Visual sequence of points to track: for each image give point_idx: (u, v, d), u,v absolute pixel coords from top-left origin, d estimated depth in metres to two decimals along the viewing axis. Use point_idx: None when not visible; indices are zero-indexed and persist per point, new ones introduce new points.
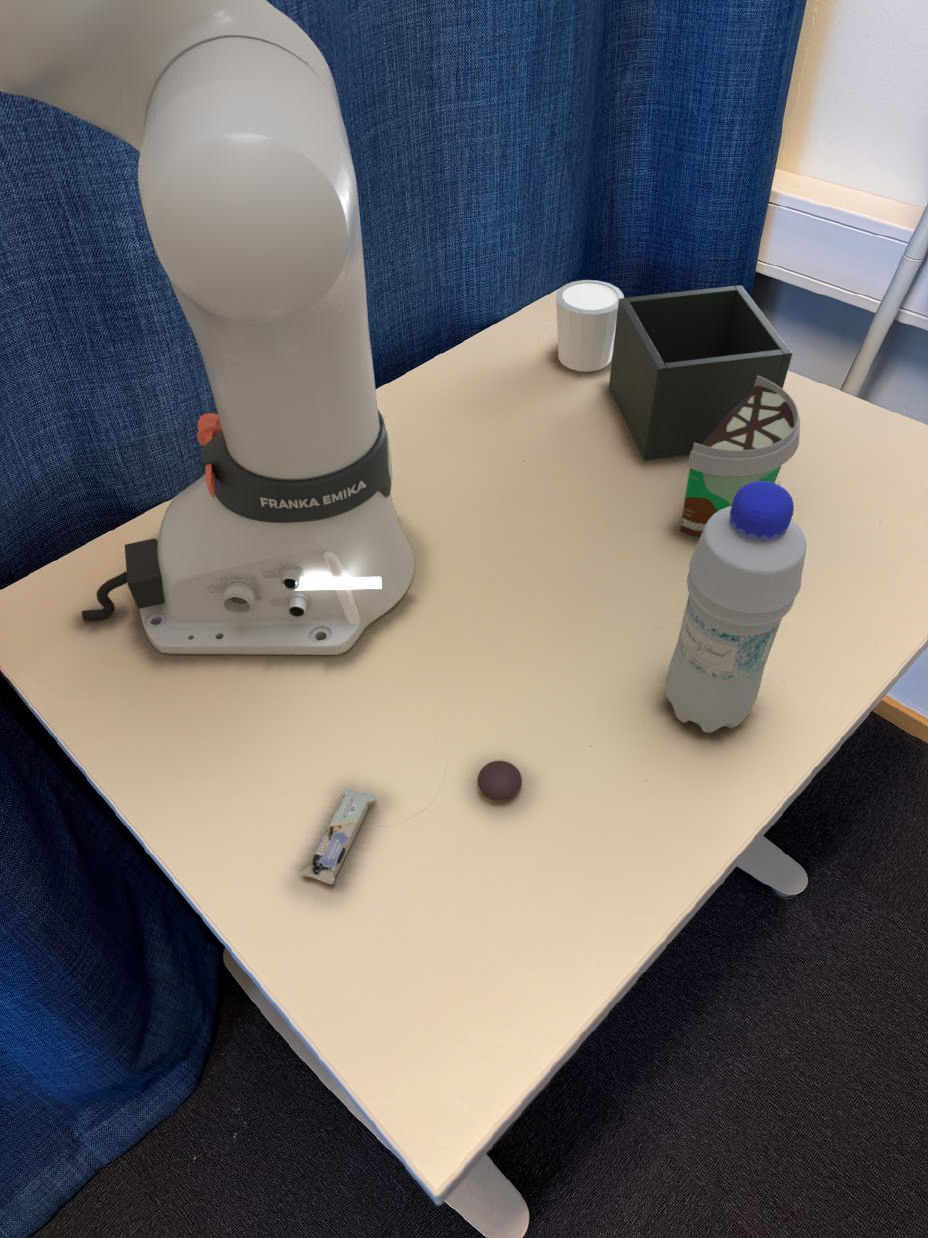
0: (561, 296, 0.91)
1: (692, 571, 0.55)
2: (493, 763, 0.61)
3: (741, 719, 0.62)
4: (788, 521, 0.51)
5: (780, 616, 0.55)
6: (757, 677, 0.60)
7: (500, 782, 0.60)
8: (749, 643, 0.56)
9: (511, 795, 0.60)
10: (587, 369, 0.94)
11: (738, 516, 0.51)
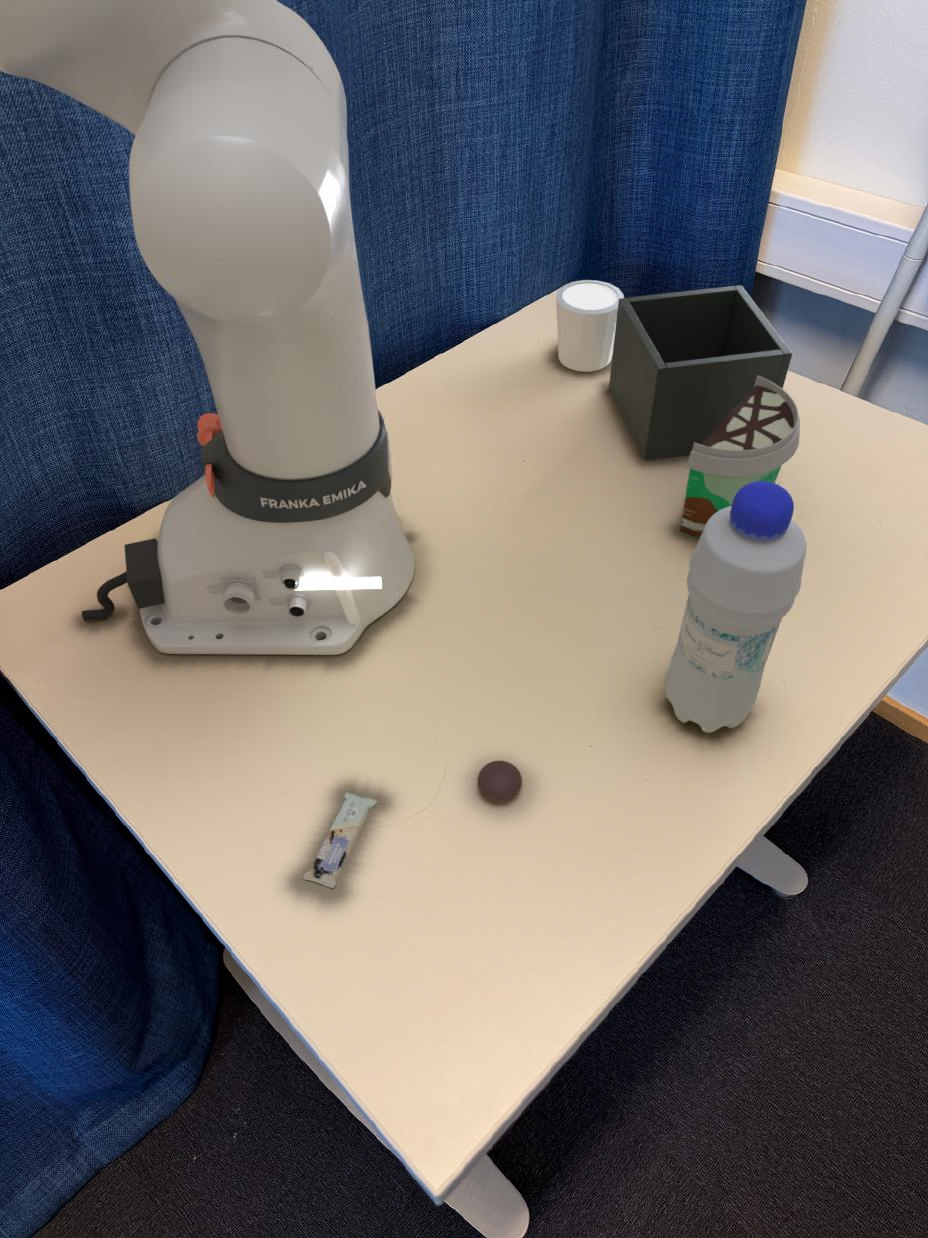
0: (561, 296, 0.91)
1: (692, 571, 0.55)
2: (493, 763, 0.61)
3: (741, 719, 0.62)
4: (788, 521, 0.51)
5: (780, 616, 0.55)
6: (757, 677, 0.60)
7: (500, 782, 0.60)
8: (749, 643, 0.56)
9: (511, 795, 0.60)
10: (587, 369, 0.94)
11: (738, 516, 0.51)
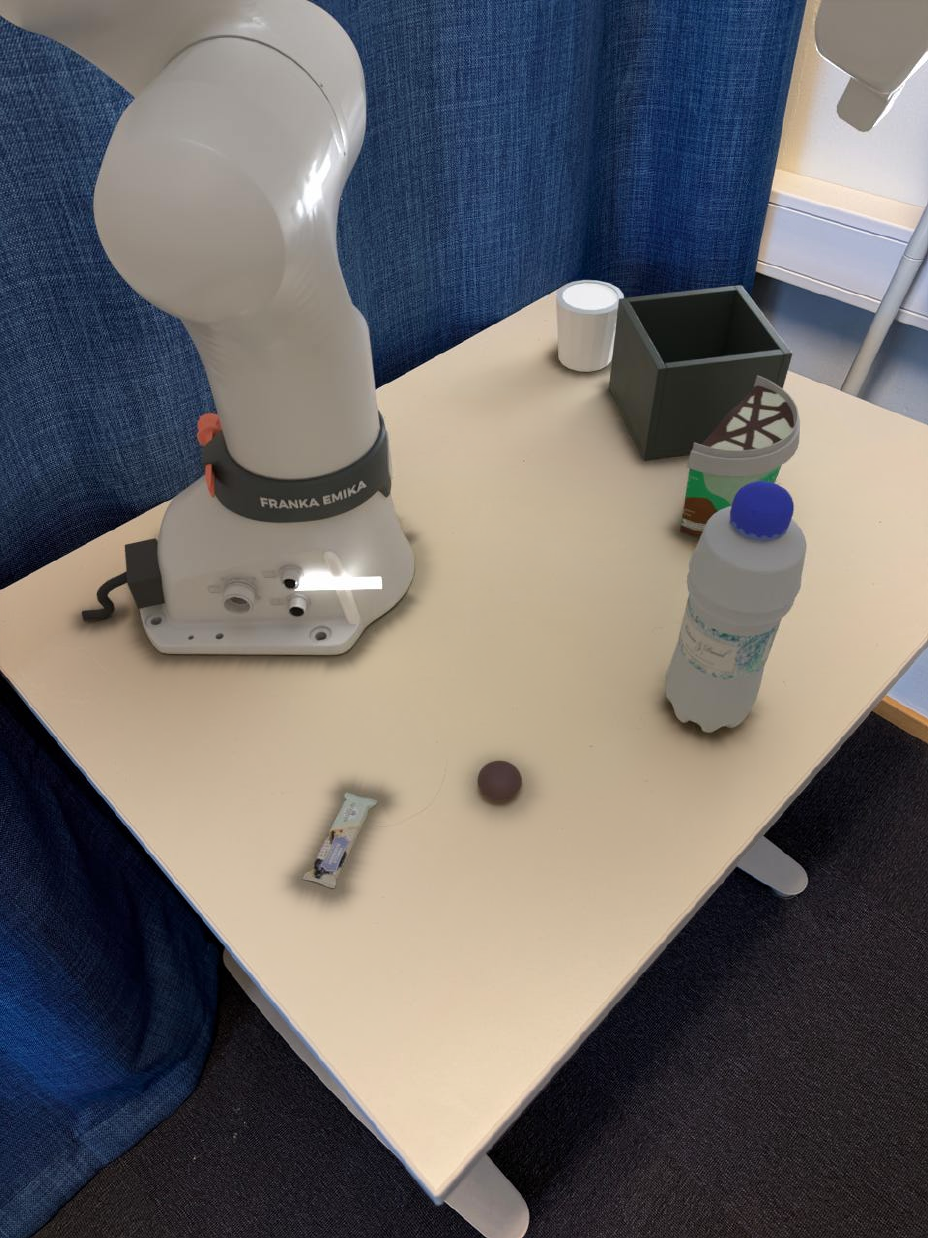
0: (561, 296, 0.91)
1: (692, 571, 0.55)
2: (493, 763, 0.61)
3: (741, 719, 0.62)
4: (788, 521, 0.51)
5: (780, 616, 0.55)
6: (757, 677, 0.60)
7: (500, 782, 0.60)
8: (749, 643, 0.56)
9: (511, 795, 0.60)
10: (587, 369, 0.94)
11: (738, 516, 0.51)
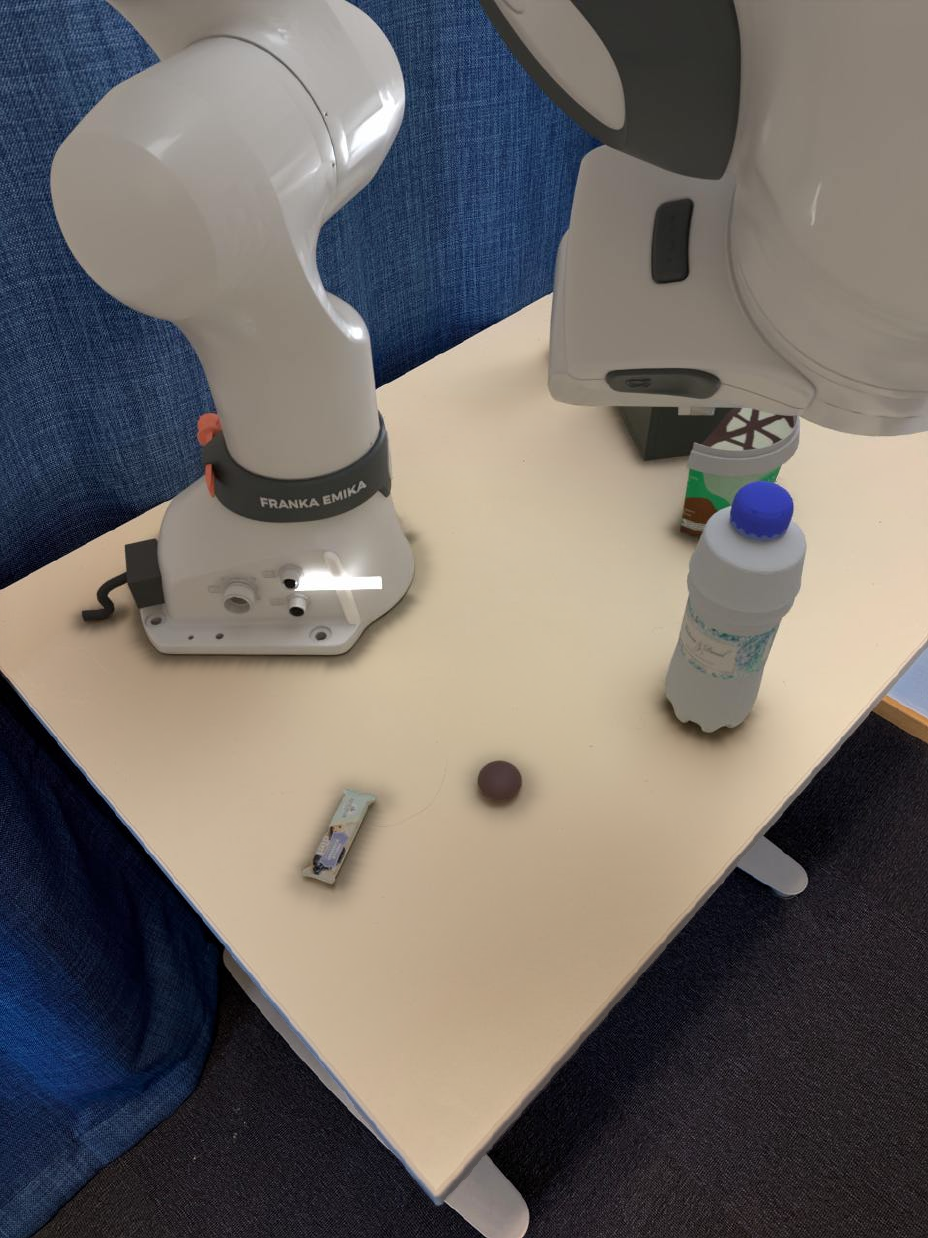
0: None
1: (692, 571, 0.55)
2: (493, 763, 0.61)
3: (741, 719, 0.62)
4: (788, 521, 0.51)
5: (780, 616, 0.55)
6: (757, 677, 0.60)
7: (500, 782, 0.60)
8: (749, 643, 0.56)
9: (511, 795, 0.60)
10: None
11: (738, 516, 0.51)
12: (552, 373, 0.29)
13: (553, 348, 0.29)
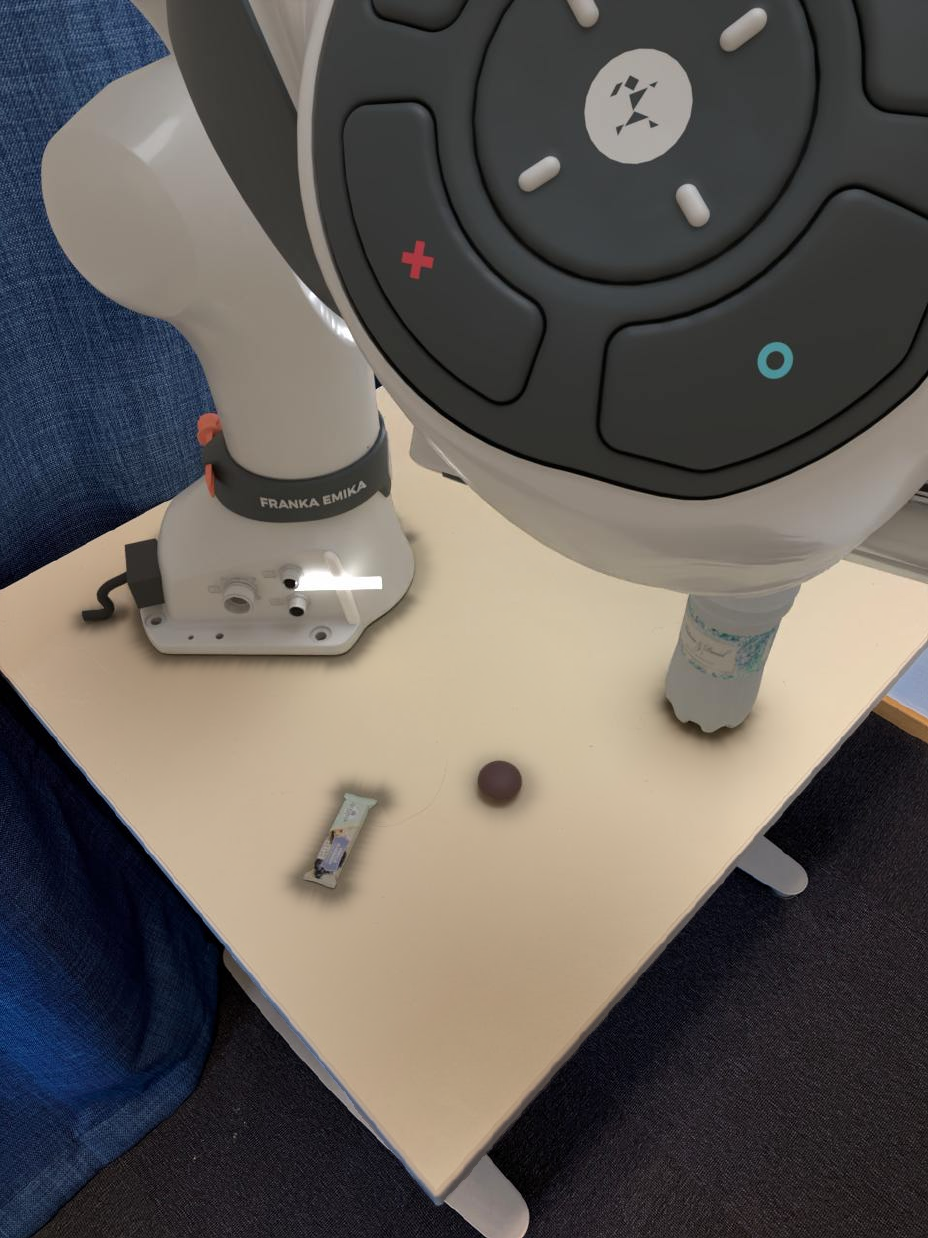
0: None
1: None
2: (493, 763, 0.61)
3: (741, 719, 0.62)
4: None
5: (780, 616, 0.55)
6: (757, 677, 0.60)
7: (500, 782, 0.60)
8: (749, 643, 0.56)
9: (511, 795, 0.60)
10: None
11: None
12: None
13: None
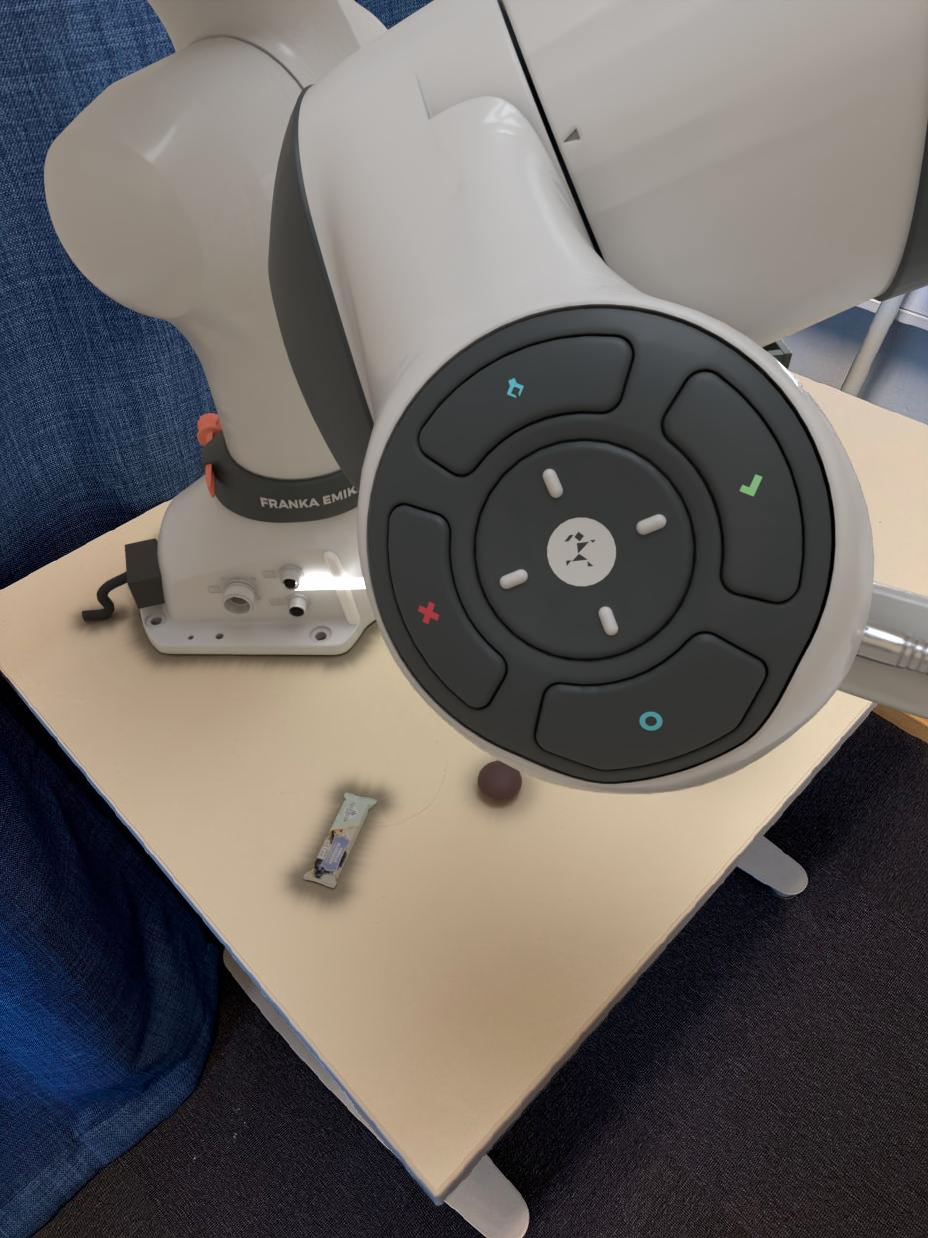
0: None
1: None
2: (493, 763, 0.61)
3: None
4: None
5: None
6: None
7: (500, 782, 0.60)
8: None
9: (511, 795, 0.60)
10: None
11: None
12: None
13: None
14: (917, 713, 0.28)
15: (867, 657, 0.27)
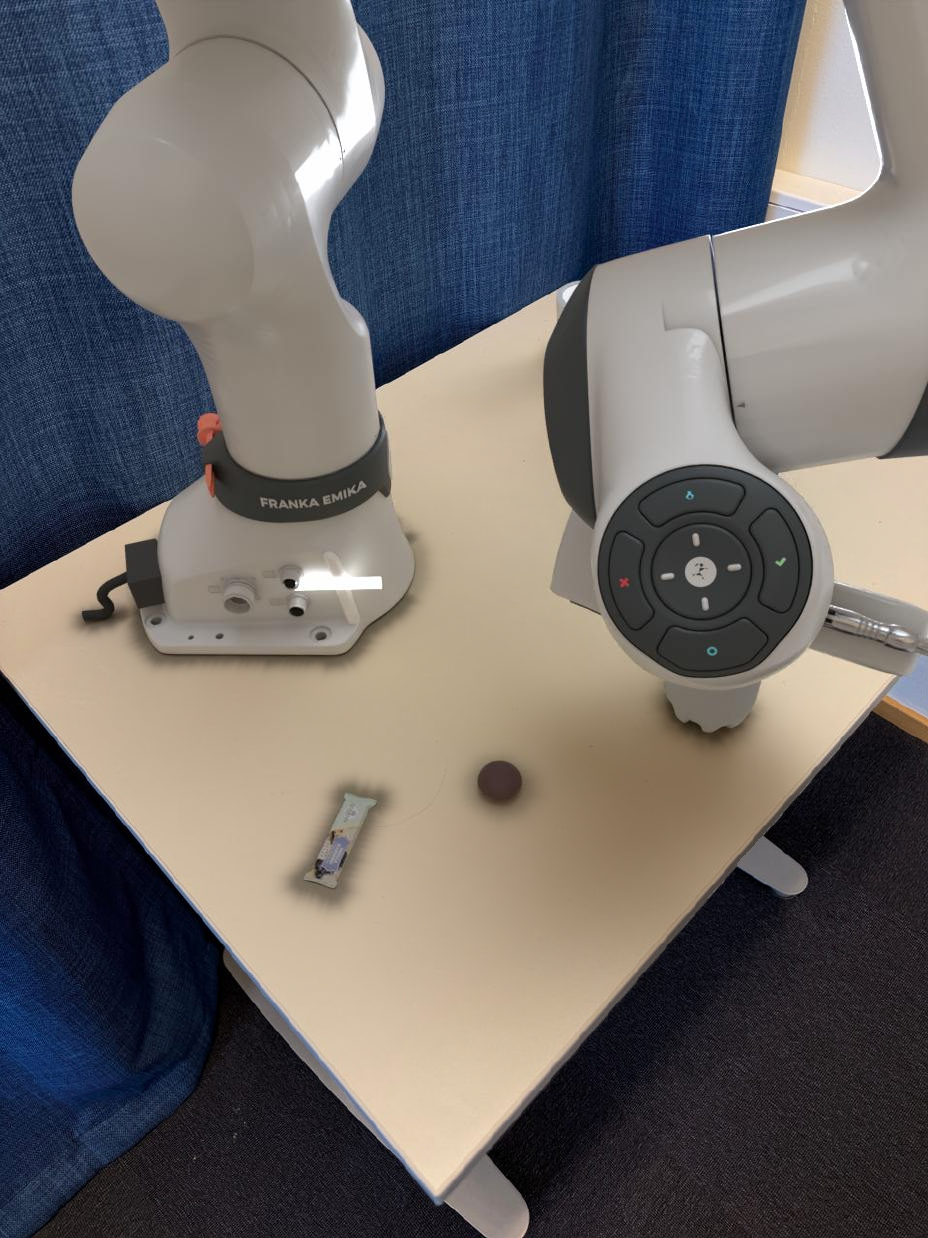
0: (561, 296, 0.91)
1: None
2: (493, 763, 0.61)
3: (741, 719, 0.63)
4: None
5: None
6: None
7: (500, 782, 0.60)
8: None
9: (511, 795, 0.60)
10: None
11: None
12: None
13: None
14: (869, 665, 0.44)
15: (838, 630, 0.43)
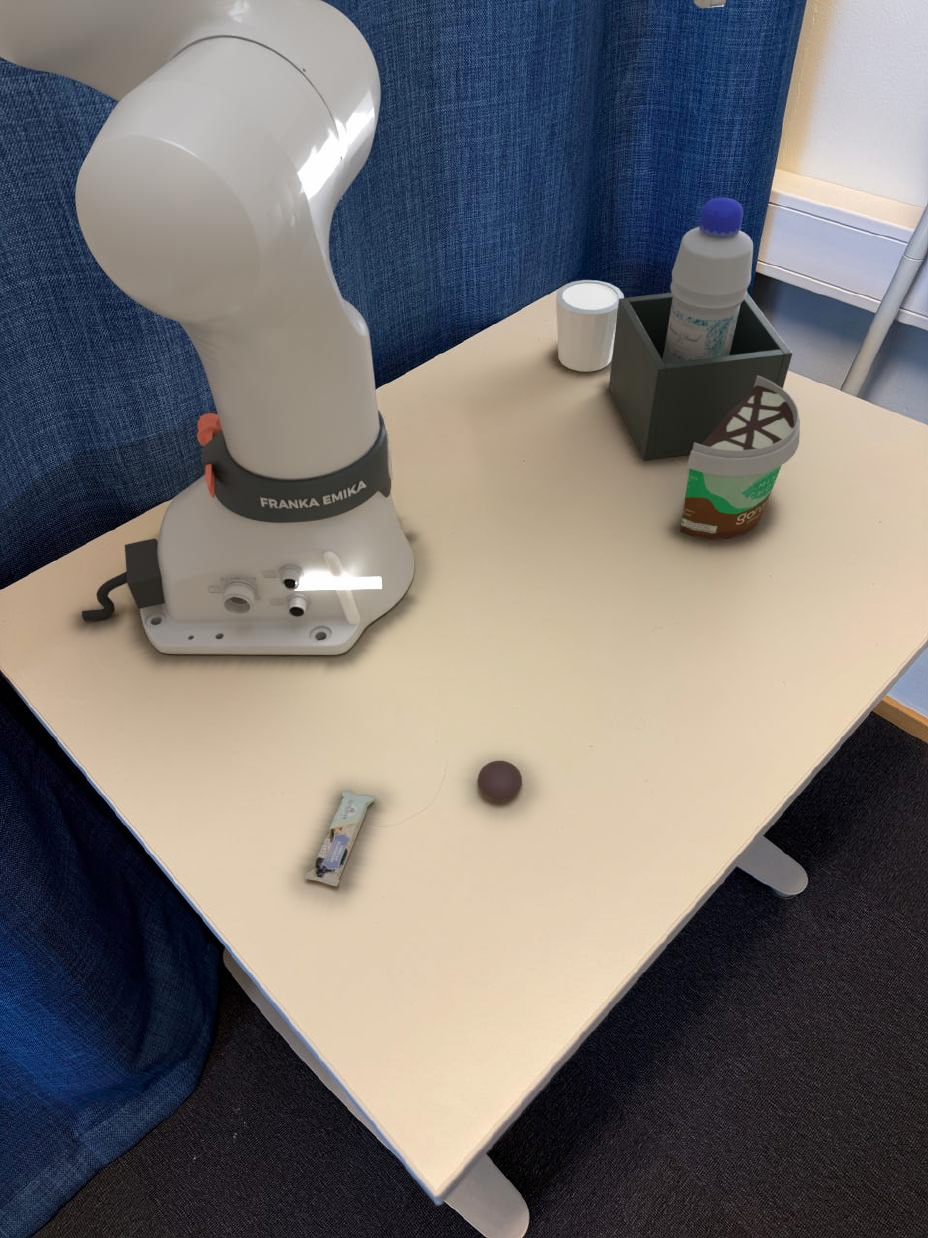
0: (561, 296, 0.91)
1: (673, 273, 0.78)
2: (493, 763, 0.61)
3: None
4: (739, 221, 0.74)
5: (736, 302, 0.77)
6: None
7: (500, 782, 0.60)
8: (715, 327, 0.79)
9: (511, 795, 0.60)
10: (587, 369, 0.94)
11: (705, 219, 0.74)
12: None
13: None
14: None
15: None
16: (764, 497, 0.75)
